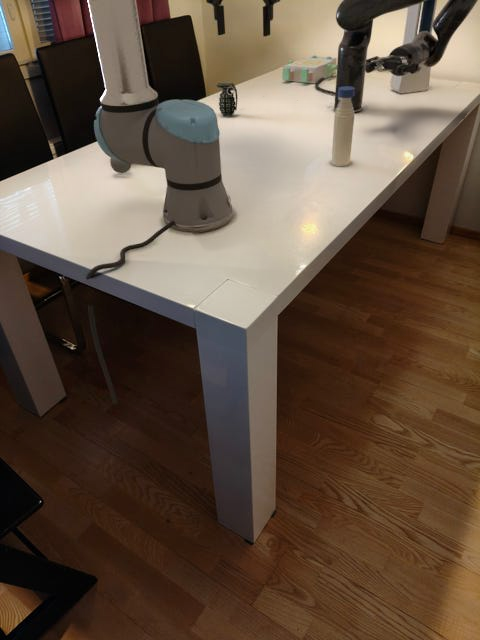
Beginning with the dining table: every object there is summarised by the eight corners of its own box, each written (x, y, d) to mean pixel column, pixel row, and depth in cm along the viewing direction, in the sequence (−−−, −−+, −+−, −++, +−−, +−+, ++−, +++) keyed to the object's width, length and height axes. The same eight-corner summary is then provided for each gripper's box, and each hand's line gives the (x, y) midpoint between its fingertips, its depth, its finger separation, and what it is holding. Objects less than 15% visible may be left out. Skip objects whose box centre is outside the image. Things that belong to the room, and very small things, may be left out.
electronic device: (398, 94, 180) (412, -3, 162) (388, 89, 186) (400, -5, 168) (428, 90, 183) (445, -6, 164) (417, 86, 188) (432, -7, 170)
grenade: (217, 117, 168) (214, 86, 162) (221, 112, 172) (219, 82, 166) (235, 117, 166) (233, 86, 160) (239, 113, 171) (238, 82, 165)
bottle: (332, 159, 132) (337, 87, 121) (351, 160, 130) (357, 87, 119) (329, 165, 128) (334, 92, 117) (348, 166, 127) (355, 92, 116)
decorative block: (304, 53, 218) (345, 56, 208) (304, 69, 222) (344, 73, 212) (273, 65, 202) (316, 68, 192) (273, 81, 206) (315, 86, 196)
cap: (339, 93, 121) (339, 86, 120) (355, 94, 120) (355, 86, 119) (336, 97, 118) (337, 90, 117) (353, 98, 117) (353, 90, 116)
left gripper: (294, -71, 114) (292, 33, 127) (203, -65, 124) (210, 31, 137) (281, -70, 109) (280, 38, 122) (187, -64, 119) (196, 36, 132)
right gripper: (384, 42, 141) (359, 52, 132) (433, 45, 134) (410, 56, 124) (381, 71, 146) (356, 82, 136) (428, 75, 139) (405, 87, 129)
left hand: (243, 35), depth 129 cm, fingers open, 13 cm apart
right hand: (382, 70), depth 130 cm, fingers open, 8 cm apart
